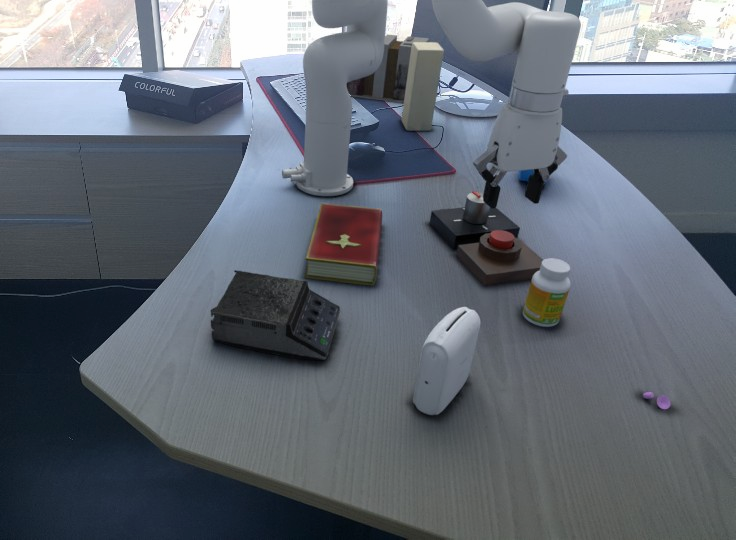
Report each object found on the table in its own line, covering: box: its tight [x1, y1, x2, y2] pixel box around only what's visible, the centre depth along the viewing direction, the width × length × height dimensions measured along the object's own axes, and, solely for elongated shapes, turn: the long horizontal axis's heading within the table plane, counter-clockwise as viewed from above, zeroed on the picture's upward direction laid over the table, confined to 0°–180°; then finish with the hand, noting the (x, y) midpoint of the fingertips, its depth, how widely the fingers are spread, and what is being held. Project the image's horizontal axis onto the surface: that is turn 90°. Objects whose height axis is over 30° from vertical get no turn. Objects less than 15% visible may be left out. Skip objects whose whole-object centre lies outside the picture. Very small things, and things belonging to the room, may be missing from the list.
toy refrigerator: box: [401, 41, 445, 132], centre depth 166 cm, size 8×7×21 cm
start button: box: [489, 230, 514, 249], centre depth 111 cm, size 4×4×2 cm
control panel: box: [428, 206, 521, 250], centre depth 122 cm, size 13×10×3 cm
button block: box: [455, 233, 544, 286], centre depth 111 cm, size 12×10×4 cm
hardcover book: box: [304, 202, 383, 287], centre depth 116 cm, size 12×21×4 cm, turn 168°
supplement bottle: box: [522, 257, 572, 328], centre depth 97 cm, size 5×5×10 cm
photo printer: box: [412, 306, 482, 416], centre depth 82 cm, size 10×4×12 cm, turn 140°
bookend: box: [347, 34, 430, 104], centre depth 193 cm, size 16×25×16 cm, turn 68°
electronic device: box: [210, 269, 341, 361], centre depth 95 cm, size 12×17×6 cm
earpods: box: [642, 391, 672, 410], centre depth 84 cm, size 3×2×2 cm
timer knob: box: [463, 190, 490, 224], centre depth 120 cm, size 4×4×5 cm
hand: (510, 201), depth 107 cm, fingers open, 7 cm apart
